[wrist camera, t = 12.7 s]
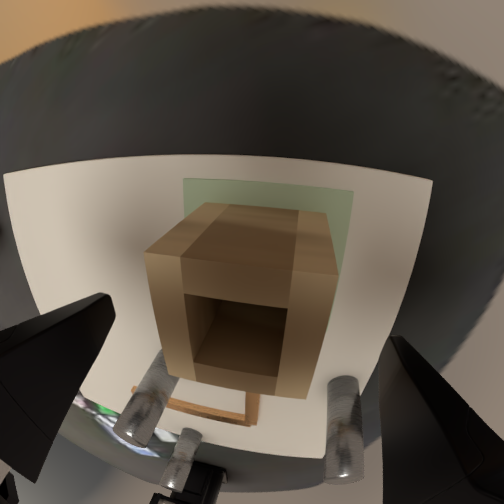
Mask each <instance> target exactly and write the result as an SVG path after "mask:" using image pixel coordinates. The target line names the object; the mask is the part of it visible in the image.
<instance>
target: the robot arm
mask: <svg viewBox="0 0 504 504" xmlns="http://www.w3.org/2000/svg"><path fill="white" fill-rule="evenodd" d="M115 318H116V312H115V309H114V305H113V301H112V298H111V296H110V295H109V294H106V293H102V292H99V293H96V294H93V295H91V296H88V297H86V298H83V299H80V300H78V301H75V302H73V303H70V304H68V305H65V306H62V307H60V308H57V309H55V310H52V311H50V312H47V313H45V314H42V315H40V316H37V317H35V318H32V319H30V320H27V321H25V322H22V323H20V324H18V325H15V326H12V327H10V328H7V329H5V330H2V331H0V504H18V502H19V499H18V495H17V491H16V486H15V481H14V476H13V474H11V473H10V471H9V470H10V468H13V469H14V470H15V471H17V472H18V473H20V474H21V475H22V476H24V477H25V478H27V479H28V480H30V481H31V482H33V483H36V481H37V479H38V476H39V474H40V472H41V469H42V467H43V464H44V462H45V460H46V457H47V455H48V452H49V450H50V448H51V446H52V444H53V441H54V439H55V437H56V435H57V433H58V430H59V428H60V426H61V424H62V422H63V420H64V418H65V416H66V414H67V412H68V410H69V408H70V406H71V404H72V402H73V400H74V398H75V397H76V395H77V393H78V391H79V389H80V387H81V385H82V383H83V382H84V380H85V378H86V376H87V374H88V373H89V371H90V369H91V367H92V365H93V364H94V362H95V360H96V358H97V357H98V355H99V353H100V351H101V349H102V347H103V344H104V342H105V340H106V338H107V336H108V334H109V332H110V329H111V327H112V325H113V323H114V321H115ZM379 412H380V423H381V437H382V457H383V504H504V441H503V440H502V439H501V438H500V437H499V436H498V435H497V434H496V433H495V432H494V431H493V430H492V429H491V428H490V427H489V426H488V425H487V424H486V423H485V422H484V421H483V420H482V419H481V418H480V417H479V416H478V415H477V414H476V412H475V411H474V410H473V409H472V408H471V407H470V408H469V405H468V404H467V403H466V402H465V400H464V399H463V398H462V397H461V396H460V395H459V394H458V393H457V392H456V391H455V390H454V389H453V388H452V387H451V385H450V384H449V383H448V382H447V381H446V380H445V379H444V378H443V377H442V376H441V375H440V374H439V373H438V372H437V371H436V370H435V369H434V368H433V367H432V366H431V365H430V364H429V363H428V362H427V361H426V360H425V359H424V358H423V357H422V356H421V355H420V354H419V353H418V352H417V351H416V350H415V349H414V348H413V347H412V346H411V345H410V344H409V343H408V342H407V341H406V340H405V339H404V338H403V337H402V336H399V335H390V336H388V337H387V339H386V341H385V344H384V346H383V348H382V351H381V353H380V356H379ZM227 482H228V480H227V473H226V470H225V469H221V468H217V467H213V466H208V465H204V464H201V463H197V462H193V464H192V466H191V469H190V472H189V475H188V477H187V480H186V483H185V485H184V488H183V491H182V493H179V492H175V491H172V493H171V495H170V498H169V497H166V496H164V495H162V494H160V493H158V494H157V493H154V494H153V497H152V499H151V501H150V503H149V504H163V503H165V504H216V500H217V497H218V494H219V491H220V488H221V484H222V483H225V484H227Z"/></svg>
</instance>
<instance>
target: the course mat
mask: <svg viewBox="0 0 504 504" xmlns="http://www.w3.org/2000/svg"><path fill="white" fill-rule="evenodd" d="M3 175H4V183H5V190H6V197H7V203H8V208H9V214H10V218H11V223H12V228H13V232H14V236H15V240H16V244H17V248H18V251H19V255H20V258H21V262H22V265H23V268H24V271H25V274H26V277H27V280H28V283H29V286H30V289H31V292H32V294H33V297H34V300H35V302H36V305H37V307H38V310H39V312H40V314H41V315H42V314H45V313H47V312H50V311H52V310H55V309H57V308H60V307H62V306H65V305H68V304H70V303H73V302H75V301H78V300H80V299H83V298H86V297H88V296H91V295H93V294H96V293H99V292H102V293H106V294H109V295H110V296H111V298H112V301H113V305H114V309H115V312H116V318H115V321H114V323H113V325H112V327H111V329H110V332H109V334H108V336H107V338H106V340H105V342H104V344H103V347H102V349H101V351H100V353H99V355H98V357H97V358H96V360H95V362H94V364H93V365H92V367H91V369H90V371H89V373H88V374H87V376H86V378H85V380H84V382H83V383H82V385H81V387H80V391H81V393H82V394H83V396H84V397H85V398H87V399H89V400H91V401H93V402H96V403H98V404H100V405H102V406H104V407H106V408H108V409H111V410H113V411H115V412H118V413H120V414H121V413H122V412H123V410H124V408H125V407H126V405H127V403H128V402H129V400H130V398H131V396H132V395H133V394H132V392H131V389H132V388H133V386H138V385H139V383H140V381H141V380H142V378H143V377H144V375H145V373H146V372H147V370H148V368H149V367H150V365H151V363H152V362H153V360H154V358H155V357H156V355H157V354H158V352H159V351H160V350H161V349H162V347H161V343H160V338H159V334H158V330H157V325H156V320H155V316H154V311H153V306H152V301H151V295H150V290H149V284H148V278H147V272H146V266H145V260H144V253H143V252H144V251H145V250H147V249H148V248H149V247H150V246H151V245H152V244H154V243H155V242H156V241H157V240H158V239H160V238H161V237H162V236H163V235H164V234H166V233H167V232H168V231H169V230H171V229H172V228H173V227H174V226H175V225H177V224H178V223H179V222H180V221H182V220H183V219H184V218H185V217H187V216H188V215H189V214H191V213H192V212H193V211H194V210H196V209H197V208H198V207H199V206H201V205H202V204H203V203H205V202H209V203H224V204H237V205H250V206H261V207H272V208H283V209H292V210H302V211H311V212H320V213H326V215H327V219H328V224H329V228H330V233H331V238H332V243H333V248H334V253H335V258H336V263H337V269H338V274H339V277H338V282H337V287H336V291H335V296H334V300H333V304H332V309H331V313H330V317H329V321H328V325H327V329H326V333H325V337H324V340H323V344H322V348H321V351H320V355H319V358H318V362H317V365H316V369H315V372H314V375H313V379H312V382H311V385H310V388H309V392H308V395H307V398H306V400H305V399H295V398H286V397H278V396H270V395H263V394H261V396H260V405H259V415H258V422H257V426H255V425H251V427H246V426H240V425H235V424H230V423H225V422H220V421H215V420H211V419H207V418H203V417H199V416H195V415H191V414H187V413H183V412H180V411H176V410H173V409H170V408H166V407H165V409H164V411H163V413H162V415H161V418H160V420H159V422H158V424H157V426H156V427H157V428H160V429H163V430H166V431H169V432H172V433H175V434H178V435H180V434H181V431H182V429H183V428H192V429H194V430H197V431H198V432H200V433H201V434H202V435H203V436H202V439H201V441H204V442H208V443H212V444H217V445H221V446H226V447H231V448H236V449H241V450H247V451H253V452H259V453H266V454H274V455H283V456H293V457H307V458H323V456H324V455H325V449H326V425H327V384H328V382H329V381H330V380H332V379H333V378H335V377H338V376H343V375H349V376H353V377H355V378H357V379H358V381H359V390H360V395H361V393H362V392H363V390H364V388H365V386H366V384H367V382H368V380H369V378H370V376H371V374H372V372H373V370H374V368H375V366H376V363H377V361H378V359H379V356H380V353H381V351H382V348H383V346H384V344H385V341H386V339H387V337H388V336H389V334H390V332H391V329H392V327H393V324H394V322H395V319H396V316H397V314H398V311H399V308H400V306H401V303H402V300H403V297H404V294H405V291H406V288H407V285H408V282H409V279H410V276H411V273H412V270H413V266H414V263H415V259H416V256H417V252H418V249H419V245H420V241H421V237H422V233H423V229H424V224H425V220H426V215H427V211H428V206H429V201H430V195H431V190H432V184H433V181H431V180H429V179H425V178H421V177H416V176H411V175H406V174H401V173H396V172H391V171H385V170H379V169H374V168H367V167H361V166H354V165H347V164H340V163H332V162H323V161H314V160H305V159H294V158H282V157H268V156H250V155H220V154H176V155H147V156H129V157H116V158H104V159H94V160H85V161H76V162H69V163H61V164H55V165H48V166H42V167H36V168H30V169H25V170H20V171H15V172H10V173H6V174H3ZM245 396H246V392H244V391H239V390H233V389H228V388H223V387H218V386H213V385H209V384H204V383H200V382H195V381H191V380H187V379H183V378H180V379H179V381H178V383H177V385H176V387H175V389H174V391H173V393H172V395H171V398H175V399H178V400H182V401H186V402H189V403H193V404H197V405H201V406H206V407H210V408H214V409H219V410H224V411H229V412H234V413H239V414H245Z"/></svg>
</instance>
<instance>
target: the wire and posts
mask: <svg viewBox="0 0 504 504" xmlns="http://www.w3.org/2000/svg"><path fill="white" fill-rule="evenodd" d="M179 379H180V378H179V377H176V376H172V375H169V374H168V370H167V366H166V363H165V359H164V355H163V351H162V349H161V350H160V351H159V352H158V354H157V355H156V357H155V358H154V360H153V362H152V363H151V365H150V367H149V368H148V370H147V372H146V373H145V375H144V377H143V378H142V380H141V381H140V383H139V385H138V386H133V388H132V389H131V392H132V394H133V395H132V396H131V398H130V400H129V402H128V403H127V405H126V407H125V408H124V410H123V412H122V413H121V415H120V417H119V418H118V420H117V422H116V424H115V425H114V427H113V431H114V432H115V433H116V434H117V435H118V436H119V437H120V438H122V439H123V440H125V441H126V442H128V443H130V444H132V445H135V446H137V447H141V448H146V446H147V444H148V442H149V440H150V438H151V436H152V434H153V432H154V430H155V428H156V426H157V424H158V422H159V420H160V418H161V415H162V413H163V411H164V409H165V407H166V408H170V409H173V410H176V411H180V412H183V413H187V414H191V415H195V416H199V417H203V418H207V419H211V420H215V421H220V422H225V423H230V424H235V425H240V426H246V427H251V425H255V426H257V422H258V415H259V405H260V396H261V394H256V393H250V392H246V396H245V414H239V413H234V412H229V411H224V410H219V409H214V408H210V407H206V406H201V405H197V404H193V403H189V402H186V401H182V400H178V399H175V398H171V395H172V393H173V391H174V389H175V387H176V385H177V383H178V381H179ZM202 436H203V435H202V434H201V433H200V432H198V431H197V430H194V429H192V428H183V429H182V431H181V434H180V436H179V438H178V441H177V443H176V446H175V448H174V450H173V453H172V455H171V457H170V460H169V462H168V465H167V467H166V469H165V472H164V474H163V476H162V479H161V481H160V485H161V486H163V487H165V488H167V489H169V490H172V491H175V492H179V493H182V491H183V488H184V485H185V483H186V480H187V477H188V475H189V472H190V469H191V466H192V464H193V461H194V458H195V456H196V453H197V450H198V447H199V445H200V442H201V439H202ZM363 478H364V450H363V428H362V413H361V401H360V390H359V381H358V379H357V378H355V377H353V376H349V375H343V376H338V377H335V378H333V379H332V380H330V381H329V382H328V384H327V425H326V449H325V466H324V479H323V481H324V482H325V483H328V484H335V485H338V484H349V483H354V482H357V481H360V480H362V479H363Z"/></svg>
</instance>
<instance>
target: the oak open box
mask: <svg viewBox="0 0 504 504" xmlns="http://www.w3.org/2000/svg"><path fill="white" fill-rule="evenodd" d="M143 253H144V260H145V266H146V272H147V278H148V284H149V290H150V295H151V301H152V306H153V311H154V316H155V320H156V325H157V330H158V334H159V338H160V343H161V347H162V351H163V355H164V359H165V363H166V366H167V370H168V374H169V375H172V376H176V377H179V378H183V379H187V380H191V381H195V382H200V383H204V384H209V385H213V386H218V387H223V388H228V389H233V390H239V391H244V392H250V393H256V394H263V395H270V396H278V397H286V398H295V399H305V400H306V398H307V395H308V392H309V388H310V385H311V382H312V379H313V375H314V372H315V369H316V365H317V362H318V358H319V355H320V351H321V348H322V344H323V340H324V337H325V333H326V329H327V325H328V321H329V317H330V313H331V309H332V304H333V300H334V296H335V291H336V287H337V282H338V277H339V274H338V269H337V263H336V258H335V253H334V248H333V243H332V238H331V233H330V228H329V224H328V219H327V215H326V213H320V212H311V211H302V210H292V209H283V208H272V207H261V206H250V205H237V204H224V203H209V202H205V203H203V204H202V205H201V206H199V207H198V208H197V209H196V210H194V211H193V212H192V213H191V214H189V215H188V216H187V217H185V218H184V219H183V220H182V221H180V222H179V223H178V224H177V225H175V226H174V227H173V228H172V229H171V230H169V231H168V232H167V233H166V234H164V235H163V236H162V237H161V238H160V239H158V240H157V241H156V242H155V243H154V244H152V245H151V246H150V247H149V248H148V249H147V250H145V251H144V252H143Z"/></svg>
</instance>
